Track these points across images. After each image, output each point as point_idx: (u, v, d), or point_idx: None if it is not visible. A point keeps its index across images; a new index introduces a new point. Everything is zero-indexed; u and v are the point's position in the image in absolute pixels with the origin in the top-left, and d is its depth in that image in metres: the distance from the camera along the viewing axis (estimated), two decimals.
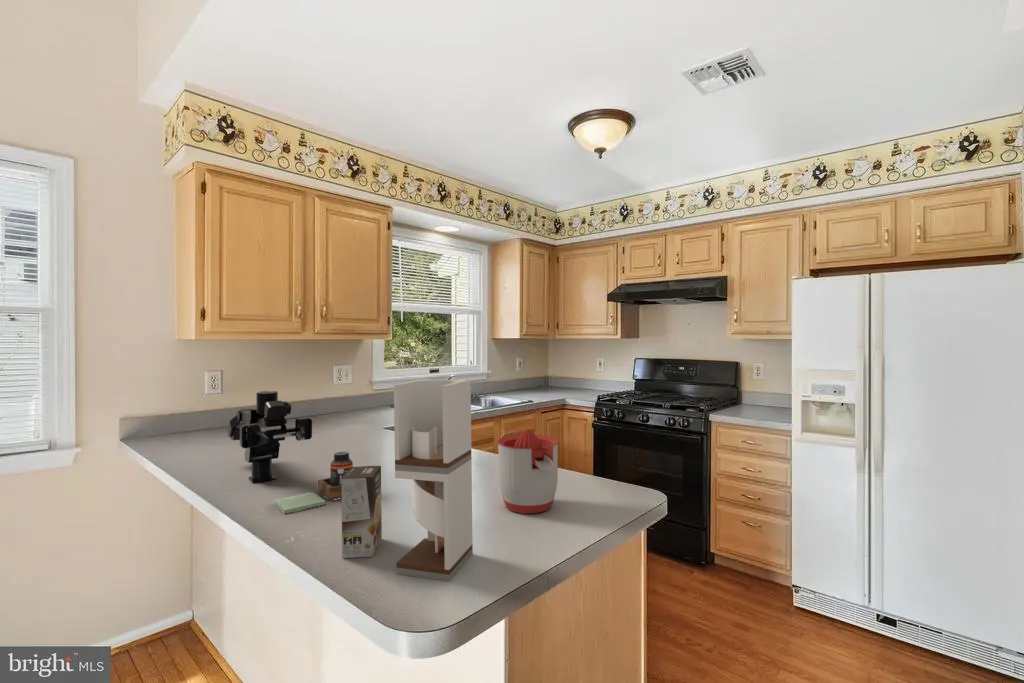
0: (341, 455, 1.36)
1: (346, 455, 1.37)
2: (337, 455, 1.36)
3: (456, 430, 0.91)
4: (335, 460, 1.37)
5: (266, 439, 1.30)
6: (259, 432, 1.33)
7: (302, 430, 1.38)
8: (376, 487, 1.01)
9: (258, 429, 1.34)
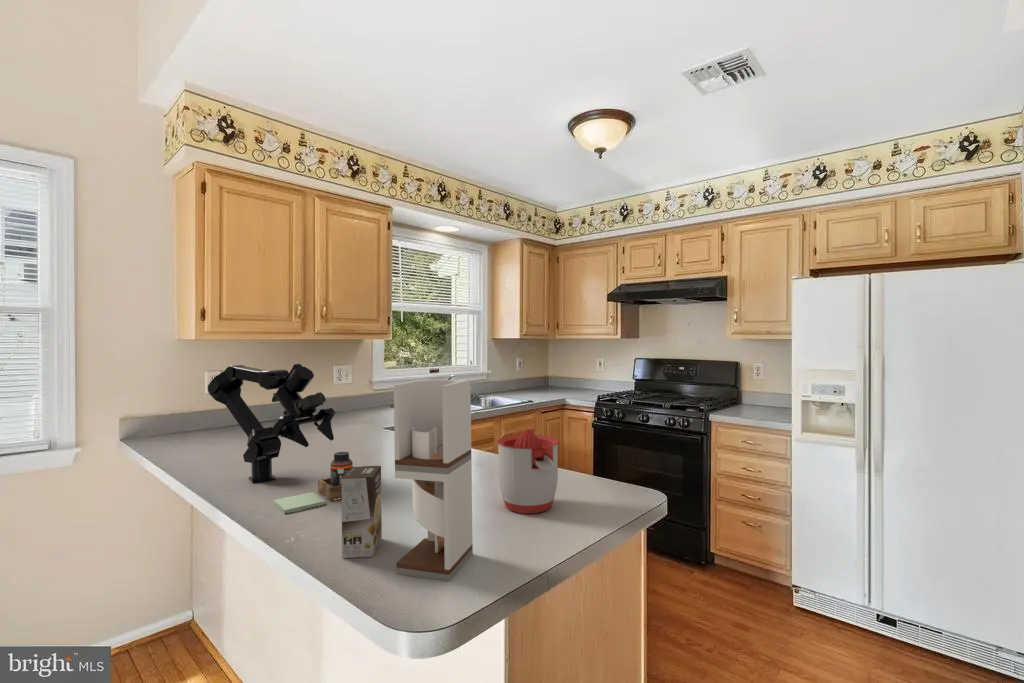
0: (341, 455, 1.36)
1: (346, 455, 1.37)
2: (337, 455, 1.36)
3: (456, 430, 0.91)
4: (335, 460, 1.37)
5: (306, 444, 1.37)
6: (298, 430, 1.37)
7: (331, 431, 1.46)
8: (376, 487, 1.01)
9: (297, 426, 1.38)
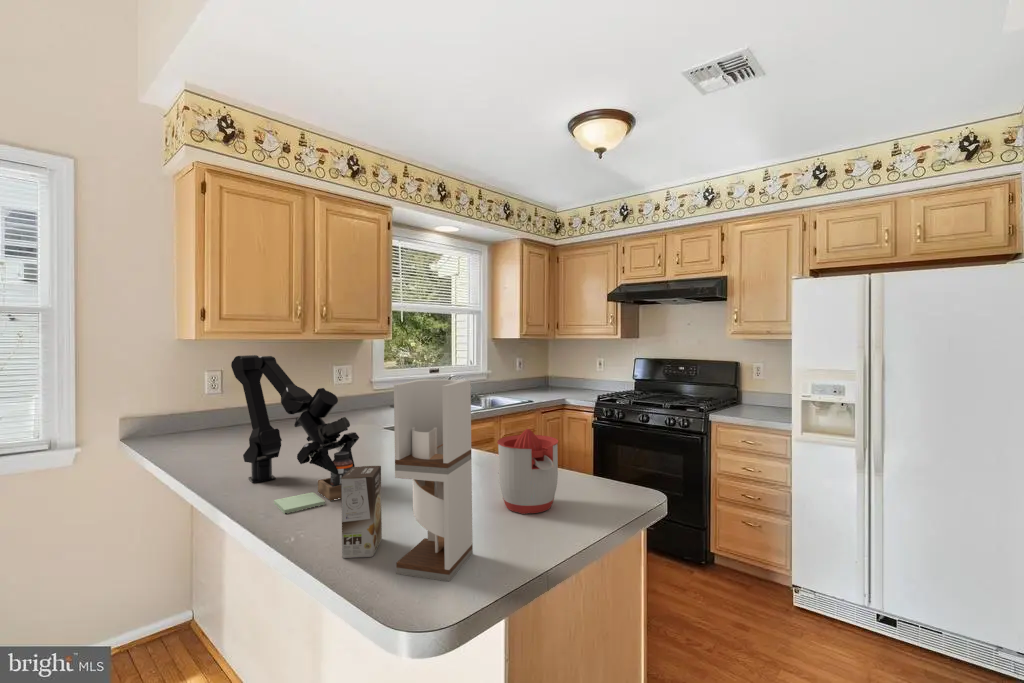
0: (341, 455, 1.36)
1: (346, 455, 1.37)
2: (337, 455, 1.36)
3: (456, 430, 0.91)
4: (335, 460, 1.37)
5: (335, 471, 1.35)
6: (327, 457, 1.35)
7: (351, 458, 1.41)
8: (376, 487, 1.01)
9: (326, 452, 1.35)
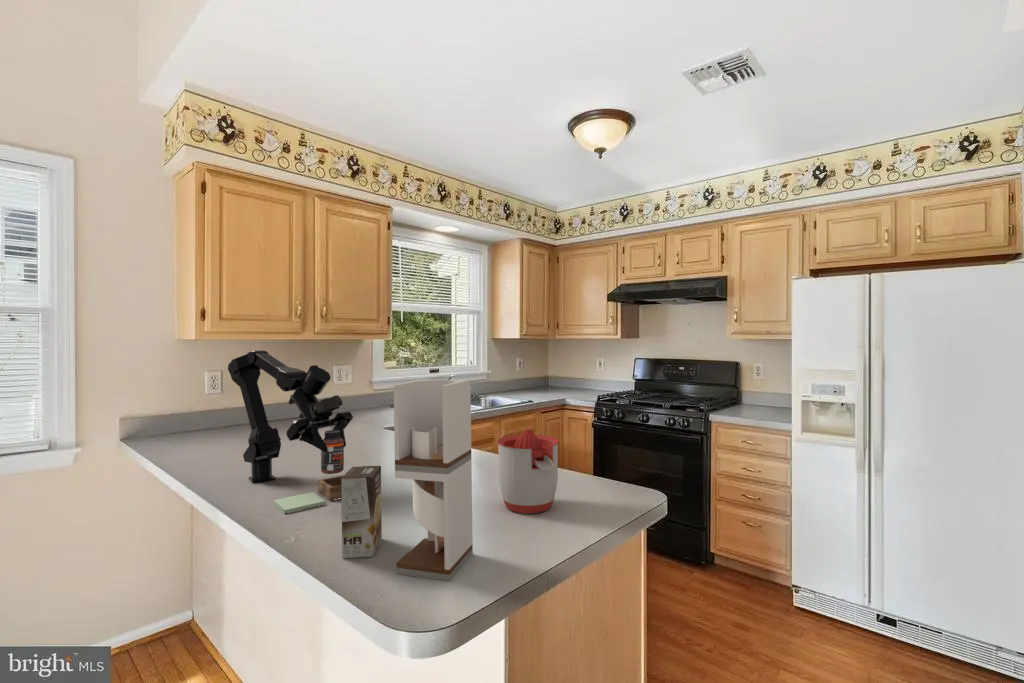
0: (331, 433, 1.34)
1: (336, 433, 1.35)
2: (327, 433, 1.34)
3: (456, 430, 0.91)
4: (325, 438, 1.34)
5: (324, 449, 1.32)
6: (317, 434, 1.33)
7: (343, 437, 1.39)
8: (376, 487, 1.01)
9: (316, 430, 1.33)
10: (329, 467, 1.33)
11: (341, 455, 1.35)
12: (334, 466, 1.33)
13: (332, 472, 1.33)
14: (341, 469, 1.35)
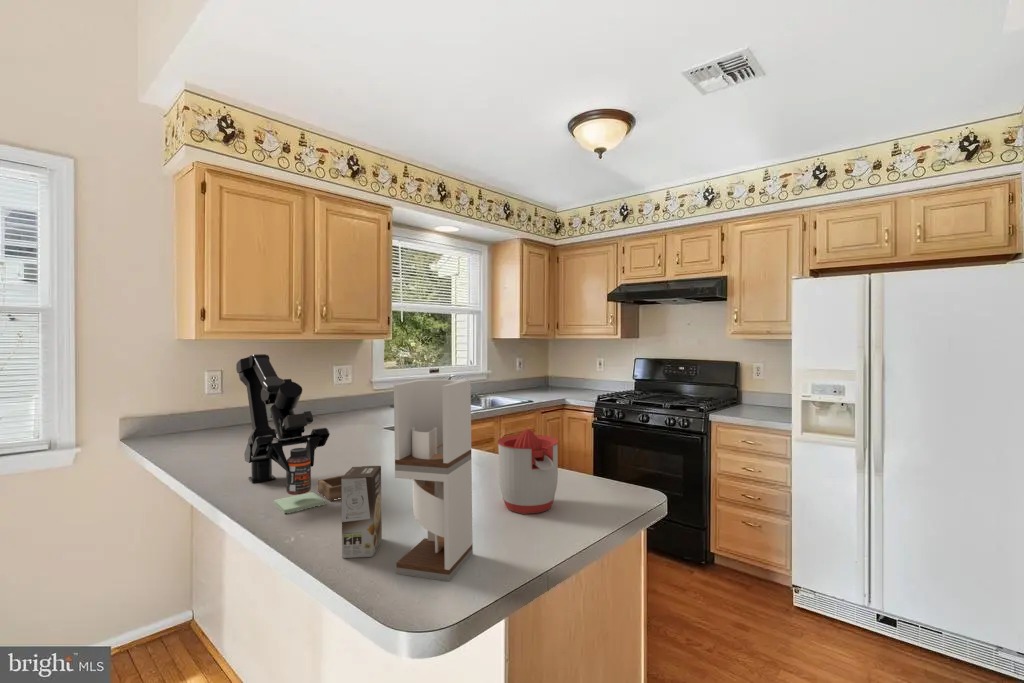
0: (295, 452, 1.27)
1: (300, 452, 1.28)
2: (291, 451, 1.28)
3: (456, 430, 0.91)
4: (290, 456, 1.28)
5: (286, 468, 1.26)
6: (280, 452, 1.27)
7: (312, 456, 1.31)
8: (376, 487, 1.01)
9: (280, 447, 1.27)
10: (291, 487, 1.26)
11: (305, 475, 1.28)
12: (296, 487, 1.26)
13: (294, 493, 1.26)
14: (305, 490, 1.28)
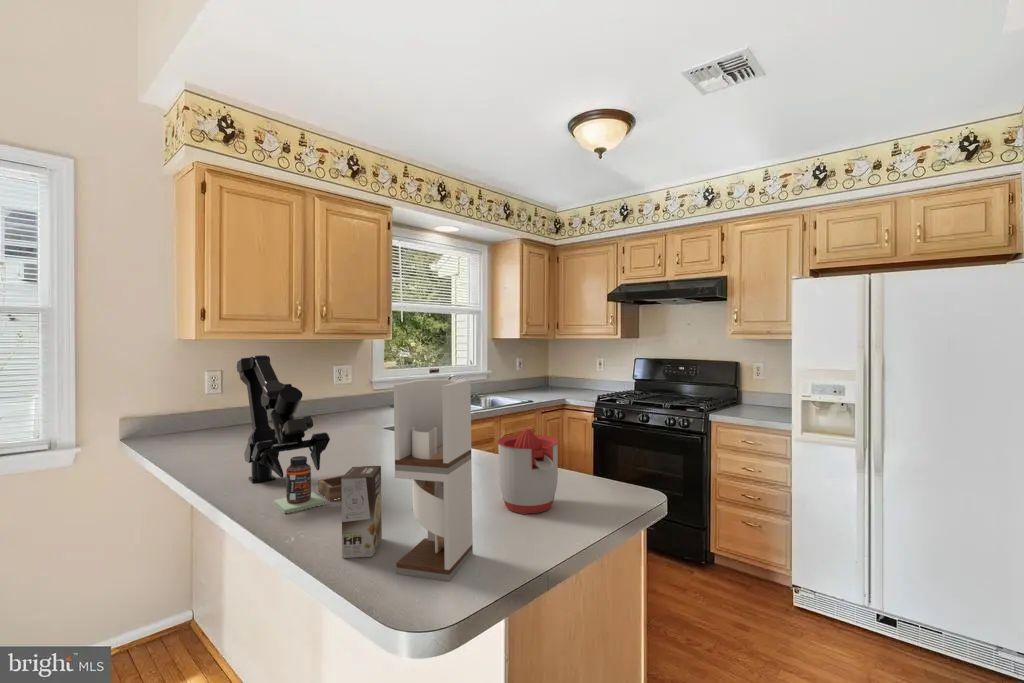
0: (295, 460, 1.27)
1: (300, 460, 1.28)
2: (291, 460, 1.28)
3: (456, 430, 0.91)
4: (290, 465, 1.28)
5: (280, 474, 1.25)
6: (275, 459, 1.26)
7: (318, 460, 1.32)
8: (376, 487, 1.01)
9: (274, 453, 1.26)
10: (291, 496, 1.26)
11: (305, 484, 1.28)
12: (296, 496, 1.26)
13: (294, 502, 1.26)
14: (305, 499, 1.28)
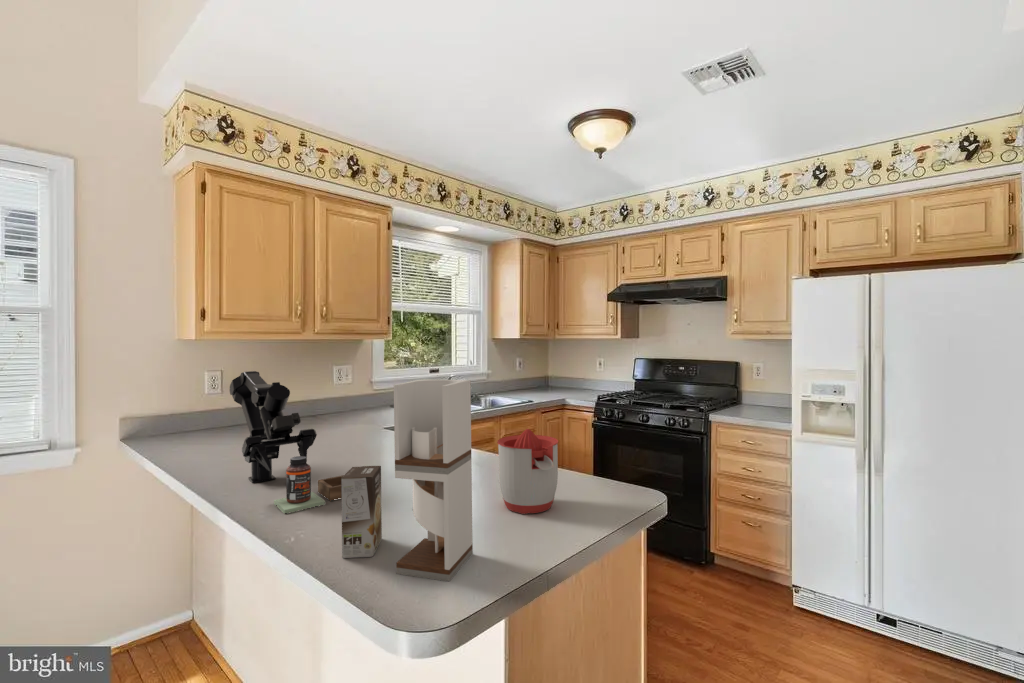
0: (295, 460, 1.27)
1: (300, 460, 1.28)
2: (291, 460, 1.28)
3: (456, 430, 0.91)
4: (290, 465, 1.28)
5: (269, 468, 1.31)
6: (263, 453, 1.32)
7: (305, 454, 1.39)
8: (376, 487, 1.01)
9: (263, 448, 1.33)
10: (291, 496, 1.26)
11: (305, 484, 1.28)
12: (296, 496, 1.26)
13: (294, 502, 1.26)
14: (305, 499, 1.28)
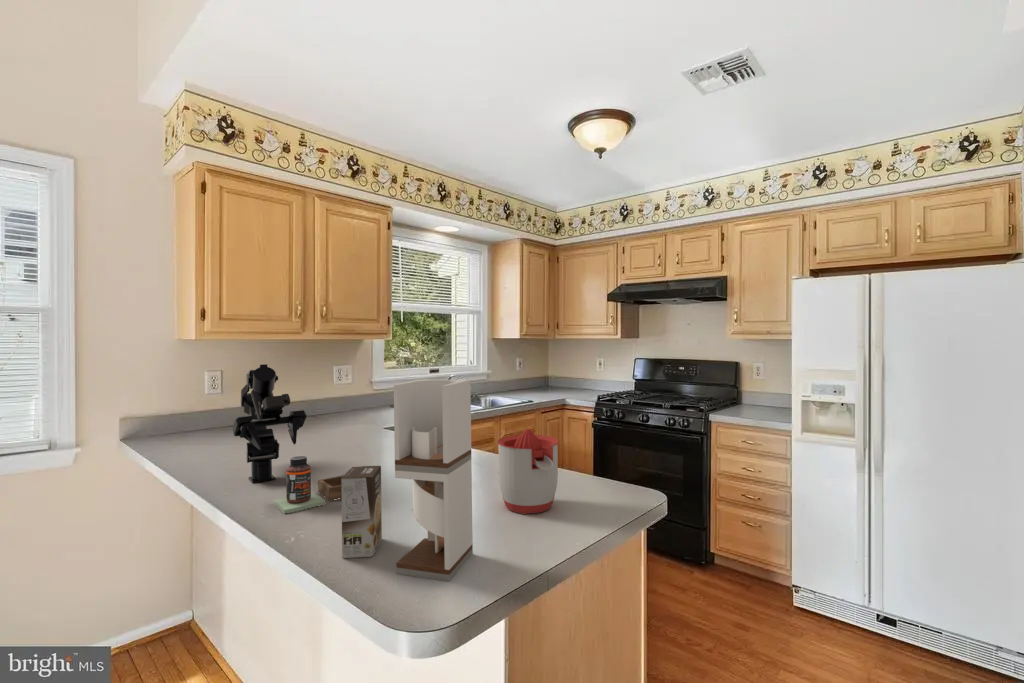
0: (295, 460, 1.27)
1: (300, 460, 1.28)
2: (291, 460, 1.28)
3: (456, 430, 0.91)
4: (290, 465, 1.28)
5: (259, 447, 1.34)
6: (253, 432, 1.35)
7: (295, 434, 1.42)
8: (376, 487, 1.01)
9: (253, 427, 1.36)
10: (291, 496, 1.26)
11: (305, 484, 1.28)
12: (296, 496, 1.26)
13: (294, 501, 1.26)
14: (305, 499, 1.28)
